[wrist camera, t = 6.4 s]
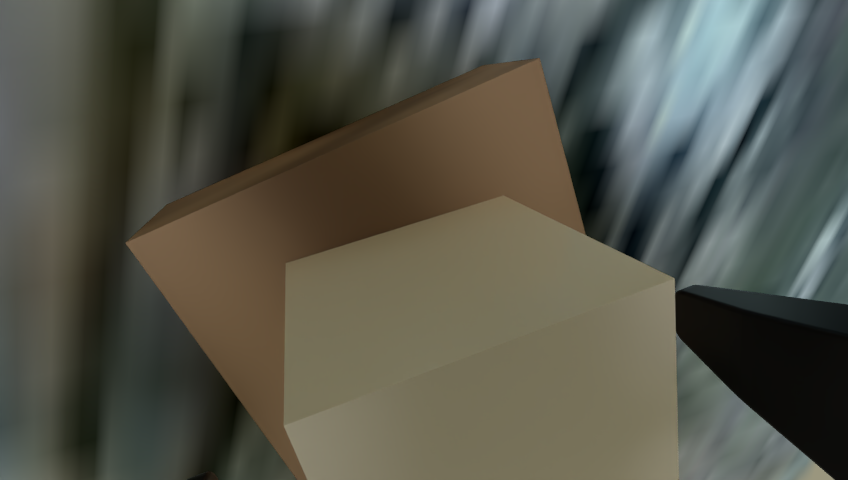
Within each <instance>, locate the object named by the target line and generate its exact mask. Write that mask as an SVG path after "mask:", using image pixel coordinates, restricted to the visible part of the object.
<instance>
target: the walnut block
mask: <svg viewBox="0 0 848 480" xmlns="http://www.w3.org/2000/svg"><path fill="white" fill-rule="evenodd" d="M503 195H504V196H506V197H508V198H510V199H512V200H514V201H516V202H518V203H520V204H522V205H524V206H526V207H528V208H530V209H533V210H535V211H537V212H539V213H541V214H543V215H545V216H547V217H549V218H551V219H553V220H555V221H557V222H559V223H561V224H563V225H566V226H568V227H570V228H572V229H574V230H576V231H578V232H580V233H582V234H584V235H586V234H585V230H584V226H583V223H582V219H581V215H580V211H579V207H578V203H577V200H576V196H575V192H574V188H573V184H572V180H571V177H570V173H569V169H568V165H567V161H566V157H565V154H564V150H563V146H562V142H561V138H560V134H559V130H558V127H557V123H556V119H555V115H554V111H553V107H552V104H551V100H550V96H549V92H548V88H547V84H546V81H545V77H544V73H543V69H542V65H541V61H540V58H536V59H528V60H521V61H513V62H505V63H497V64H490V65H483V66H481V67H478V68H476V69H474V70H471V71H469V72H467V73H465V74H462V75H460V76H458V77H456V78H453V79H451V80H449V81H447V82H444V83H442V84H440V85H437V86H435V87H433V88H431V89H428V90H426V91H424V92H422V93H419V94H417V95H415V96H412V97H410V98H408V99H406V100H403V101H401V102H399V103H397V104H394V105H392V106H390V107H387V108H385V109H383V110H381V111H378V112H376V113H374V114H372V115H369V116H367V117H365V118H363V119H360V120H358V121H356V122H353V123H351V124H349V125H347V126H344V127H342V128H340V129H338V130H335V131H333V132H331V133H328V134H326V135H324V136H322V137H319V138H317V139H315V140H313V141H310V142H308V143H306V144H303V145H301V146H299V147H297V148H294V149H292V150H290V151H288V152H285V153H283V154H281V155H279V156H276V157H274V158H272V159H269V160H267V161H265V162H263V163H260V164H258V165H256V166H254V167H251V168H249V169H247V170H244V171H242V172H240V173H238V174H235V175H233V176H231V177H229V178H226V179H224V180H222V181H219V182H217V183H215V184H213V185H210V186H208V187H206V188H204V189H201V190H199V191H197V192H195V193H192V194H190V195H188V196H185V197H183V198H181V199H179V200H176V201H174V202H172V203H170V204H167V205H166V206H165V207H164V208H163V209H162V210H160V211H159V212H158V213H157V214H156V215H155V216H154V217H153V218H152V219H151V220H150V221H149V222H147V223H146V224H145V225H144V226H143V227H142V228H141V229H140V230H139V231H138V232H137V233H136V234H134V235H133V236H132V237H131V238H130V239H129V240H128V241H127V242H126V244H127V246H128V247H129V249H130V250H131V251H132V253H133V254H134V255H135V257H136V258H137V260H138V261H139V262H140V264H141V265H142V266H143V268H144V269H145V271H146V272H147V273H148V275H149V276H150V277H151V279H152V280H153V282H154V283H155V284H156V286H157V287H158V289H159V290H160V291H161V293H162V294H163V295H164V297H165V298H166V300H167V301H168V302H169V304H170V305H171V306H172V308H173V309H174V311H175V312H176V313H177V315H178V316H179V317H180V319H181V320H182V322H183V323H184V324H185V326H186V327H187V329H188V330H189V331H190V333H191V334H192V335H193V337H194V338H195V340H196V341H197V342H198V344H199V345H200V346H201V348H202V349H203V351H204V352H205V353H206V355H207V356H208V357H209V359H210V360H211V362H212V363H213V364H214V366H215V367H216V369H217V370H218V371H219V373H220V374H221V375H222V377H223V378H224V380H225V381H226V382H227V384H228V385H229V386H230V388H231V389H232V391H233V392H234V393H235V395H236V396H237V397H238V399H239V400H240V402H241V403H242V404H243V406H244V407H245V408H246V410H247V411H248V413H249V414H250V415H251V417H252V418H253V420H254V421H255V422H256V424H257V425H258V426H259V428H260V429H261V431H262V432H263V433H264V435H265V436H266V437H267V439H268V440H269V442H270V443H271V444H272V446H273V447H274V448H275V450H276V451H277V453H278V454H279V455H280V457H281V458H282V460H283V461H284V462H285V464H286V465H287V466H288V468H289V469H290V471H291V472H292V473H293V475H294V476H295V477H296V479H297V480H307V478H306V476H305V473H304V471H303V469H302V467H301V464H300V462H299V460H298V457H297V455H296V453H295V451H294V448H293V446H292V444H291V441H290V439H289V437H288V435H287V432H286V430H285V428H284V359H285V277H286V263H288V262H291V261H295V260H298V259H301V258H304V257H307V256H311V255H314V254H317V253H320V252H324V251H327V250H330V249H333V248H336V247H340V246H343V245H346V244H349V243H352V242H356V241H359V240H362V239H365V238H369V237H372V236H375V235H378V234H381V233H385V232H388V231H391V230H394V229H397V228H401V227H404V226H407V225H410V224H413V223H417V222H420V221H423V220H426V219H430V218H433V217H436V216H439V215H442V214H446V213H449V212H452V211H455V210H458V209H462V208H465V207H468V206H471V205H475V204H478V203H481V202H484V201H487V200H491V199H494V198H497V197H500V196H503Z"/></svg>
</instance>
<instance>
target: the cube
mask: <svg viewBox="0 0 848 480" xmlns="http://www.w3.org/2000/svg"><path fill="white" fill-rule="evenodd" d="M284 428H285V430H286V432H287V435H288V437H289V439H290V441H291V444H292V446H293V448H294V451H295V453H296V455H297V457H298V460H299V462H300V464H301V467H302V469H303V471H304V473H305V476H306V478H307V480H679V466H678V417H677V368H676V319H675V278H673V277H671V276H669V275H667V274H664V273H662V272H660V271H658V270H656V269H654V268H652V267H650V266H648V265H646V264H644V263H642V262H640V261H638V260H636V259H634V258H631V257H629V256H627V255H625V254H623V253H621V252H619V251H617V250H615V249H613V248H611V247H609V246H607V245H605V244H603V243H601V242H599V241H596V240H594V239H592V238H590V237H588V236H586V235H584V234H582V233H580V232H578V231H576V230H574V229H572V228H570V227H568V226H566V225H563V224H561V223H559V222H557V221H555V220H553V219H551V218H549V217H547V216H545V215H543V214H541V213H539V212H537V211H535V210H533V209H530V208H528V207H526V206H524V205H522V204H520V203H518V202H516V201H514V200H512V199H510V198H508V197H506V196H504V195H503V196H500V197H497V198H494V199H491V200H487V201H484V202H481V203H478V204H475V205H471V206H468V207H465V208H462V209H458V210H455V211H452V212H449V213H446V214H442V215H439V216H436V217H433V218H430V219H426V220H423V221H420V222H417V223H413V224H410V225H407V226H404V227H401V228H397V229H394V230H391V231H388V232H385V233H381V234H378V235H375V236H372V237H369V238H365V239H362V240H359V241H356V242H352V243H349V244H346V245H343V246H340V247H336V248H333V249H330V250H327V251H324V252H320V253H317V254H314V255H311V256H307V257H304V258H301V259H298V260H295V261H291V262H288V263H286V277H285V359H284Z"/></svg>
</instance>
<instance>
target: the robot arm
mask: <svg viewBox="0 0 848 480" xmlns="http://www.w3.org/2000/svg"><path fill="white" fill-rule="evenodd" d="M675 319H676V332H677V334H678V336H679V337H680V339H681V340H682V341H683V342H684V343H685V344H686V345H687V346H688V347H689V348H690V349H691V350H692V351H693V352H694V353H695V354H696V355H697V356H698V357H699V358H700V359H701V360H702V361H703V362H704V363H705V364H706V365H707V366H708V367H709V368H710V369H711V370H712V371H713V372H714V373H715V374H716V375H717V376H718V377H719V378H720V379H721V380H722V381H723V382H724V383H725V384H726V385H727V386H728V387H729V388H730V389H731V390H732V391H733V392H734V393H735V394H736V395H737V396H738V397H739V398H740V399H741V400H742V401H743V402H744V403H746V404H747V405H748V406H749V407H750V408H751V409H752V410H754V411H755V412H756V413H757V414H758V415H759V416H761V417H762V418H763V419H764V420H765V421H766V422H768V423H769V424H770V425H771V426H772V427H774V428H775V429H776V430H777V431H778V432H779V433H781V434H782V435H783V436H784V437H785V438H786V439H788V440H789V441H790V442H791V443H792V444H793V445H795V446H796V447H797V448H798V449H799V450H800V451H802V452H803V453H804V454H805V455H806V456H807V457H809V458H810V459H811V460H812V461H813V462H815V463H816V464H817V465H818V466H819V467H820V468H822V469H823V470H824V471H825V472H826V473H827V474H829V475H830V476H831V477H832V478H833V479H835V480H848V305H846V304H839V303H831V302H823V301H816V300H808V299H801V298H793V297H785V296H778V295H770V294H763V293H755V292H747V291H740V290H732V289H725V288H717V287H709V286H702V285H692V286H689V287H687V288H684V289H681V290H679V291H677V292H676V293H675ZM187 480H218V478H217V476H216V475H215V474H214V473H213V472H210V471H207V472H204V473H202V474H199V475H197V476H194V477H191V478H189V479H187Z"/></svg>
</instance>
